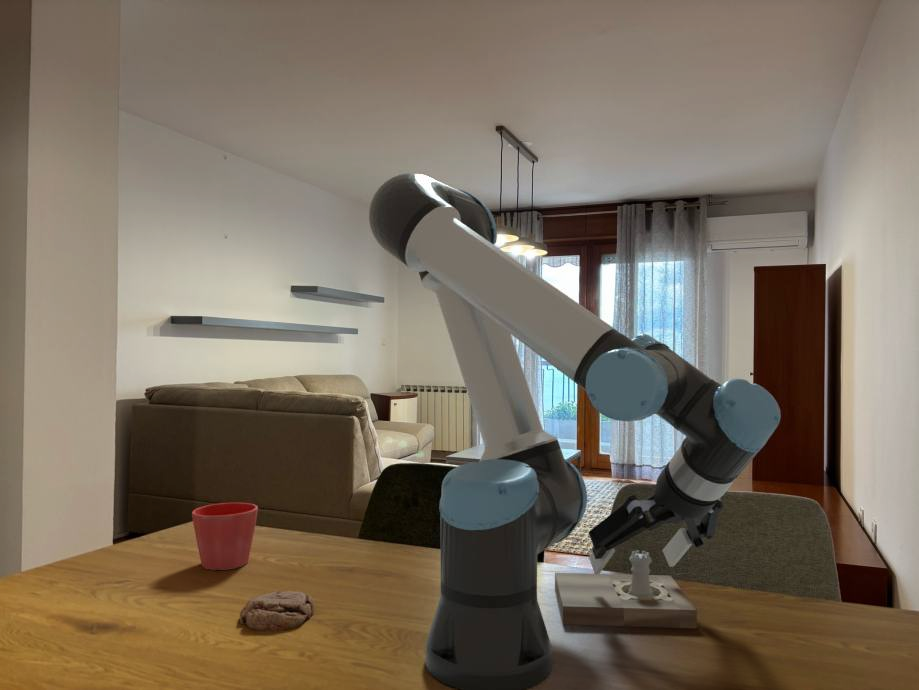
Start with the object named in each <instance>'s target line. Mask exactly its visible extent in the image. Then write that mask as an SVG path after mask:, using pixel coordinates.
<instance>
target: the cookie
mask: <svg viewBox="0 0 919 690" xmlns="http://www.w3.org/2000/svg"><path fill="white" fill-rule="evenodd" d="M314 609H315V600H314V598H313V597H312V596H311V595H310V594H308V593H305V592H301V591H295V590H286V591H282V592H281V591H280V590H275V591H273V592H269V593H266V594H262V595H256V596H252V597H250V598H249V599H248V601H247V603H246V604H245V606H243V608H242V609H241V610H240V614H239V624H240V625H242V626H244V625H245V626H247V628H249V629H251V630H254V631H260V632H261V631H279V630H280V629H281V630H289V629H293V628H297V627H300V626H301V625H302V624H303V623H304V622H305V621H306V619H307V620H311V617H313V616H314V615H315V610H314Z"/></svg>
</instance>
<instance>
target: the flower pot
mask: <svg viewBox="0 0 919 690" xmlns="http://www.w3.org/2000/svg"><path fill="white" fill-rule="evenodd" d="M258 511H259V507H258V505H256V504H254V503H249V502H221V503H220V502H219V503H214V504H208V505H204V506H200V507H197V508H195V509H194V510H193V511H192V512H191V518H192V522H193V523H192V524H193V528H194V533H195V539H196V544H197V549H198V553H199V558H200V559H199V560H200V563H201V566H202V568H204V569H205V570H209V569H210V571H217V570H219V571H226V570H233V569H237V568H239V567H240V568H241V567H243V566H245V565H246V564H247V563H248V562H249V560H250V555H251V550H252V545H253V541H254V535H255V530H256V524H257V518H258Z"/></svg>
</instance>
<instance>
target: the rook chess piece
mask: <svg viewBox="0 0 919 690" xmlns="http://www.w3.org/2000/svg"><path fill="white" fill-rule="evenodd" d="M628 560H629V561H630V563H631V565H632V567H631V568H630V571H631V575H632V582H631V587H630V589H629V592H628V593H627V594H629V595H632V596H637V597H655V596H654V594H653V591H652V590H651V587H650V580H649V575H650V573H651V569H650V565H651V563H652V562H653V559H652V558H651V557H650V552H647V551H645V550H642V551H641V553H640V550H634V551H631V555H630V557H629V558H628Z"/></svg>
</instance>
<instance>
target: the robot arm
mask: <svg viewBox="0 0 919 690" xmlns="http://www.w3.org/2000/svg"><path fill="white" fill-rule="evenodd" d="M371 199H372V200H371V201H370V206H369V209H368V210H369V212H368V220H369V221H368V222H369V228H370V231H371V233H372V234H373V237H374V239H375V240H376V242H377V243H378V244H379V245H380V247H382V249H384V250H385V251H386V252H388V253H389V254H390V255H392V257H394V258H396V259H397V260H399V262H402V263H403V264H404V265H405V266H406V267H408V268H409V269H410V270H412V271H414V272H417V273H418V275H419V277H420V280H421V285H422V286H423V287H424V288H425V289H426V290H427V289H428V290H429V291H432V292H434V293H435V295H436V298H437V301H438V304H439V306H440V311H441V314H442V316H443V319H444V322H445V325H446V328H447V329H446V330H447V333H448V335H449V338H450V341H451V344H452V348H453V351H454V354H455V358H456V361H457V363H458V366H459V367H458V368H459V370H460V373H461V376H462V379H463V382H464V385H465V388H466V391H467V395H468V399H469V400H470V401H469V402H470V405H471V407H472V411H473V414H474V417H475V420H476V423H477V426H478V430H479V433H480V436H481V438H482V442H483V446H484V451H483V453H482V455H481V457H480V459H479V461H471V462H466V463H464V464H460V465H458V466H456V467H454V468H452V469H451V470H450V471H448V472H447V474H446V475H445V476H444V478H443V480H442V482H441V494H440V495H441V497H440V498H439V504H438V505H439V508H438V509H439V513H440V519H439V520H440V593H439V595H440V597H439V600H438V604H437V607H436V610H435V614H434V615H433V619H432V622H431V626H430V627H429V632H428V634H427V636H426V637H427V638H426V642H425V666H426V670H427V671H428V672H429V674H430V675H431V676H433V678H435V679H436V680H438V681H439V682H441V683H443V684H445V685H448V686H450V687H453V688H456V689H459V690H524V689H527V688H530V687H532V686H535V685H537V684H538V683H540V682H542V681H543V680H545V679H546V678H547V676H549V674H550V672H551V670H552V668H553V667H552V661H553V657H552V655H553V654H552V653H553V652H552V650H553V649H552V643H551V640H550V637H549V633H548V631H547V627H546V623H545V620H544V618H543V615H542V612H541V608H540V604H539V602H538V601H539V600H538V555H540V554H541V553H542V552H544V551H545V550H547V549H549V548H550V547H551V546H553V545H554V544H558V543H560V542H562V541H563V540H564V539H565V540H566V538H568V537H569V536H570V535H571V534H572V532H573V531H574V530H575V529H576V528H577V526H578V525H579V524H580V523H581V522H582V519H583V518H584V515H585V513H586V510H587V504H588V491H587V486H586V484H585V483H586V482H585V481H584V478H583V476H582V474H581V472H580V471H579V470H578V468H576V466H575V465H574V464H573V463H572V462H570V461H568V460H567V459H565V457H564V455H563V452H562V447H561V445H560V443H559V439H558V438H557V436H555V435H553V434H550V433H548V432H547V431H545V430H544V429H543V426H542V424H541V420H540V417H539V414H538V411H537V408H536V405H535V402H534V400H533V397H532V393H531V390H530V387H529V385H528V381H527V378H526V374H525V372H524V370H523V366H522V364H521V361H520V358H519V355H518V352H517V348H516V346H515V343H514V340H513V337H514V338H515V339H516V340H518V341H519V342H521V344H522V345H523V344H524V345H525V346H526V347H527V348H528V349H530V350H531V351H532V352H534V353H535V354H536V355H538V356H539V357H541V358H542V359H544V361H546V362H547V363H549V364H550V365H551V366H553V367H554V368H556V370H558V371H559V372H560V373H562V374H563V375H564V376H566V377H567V378H568V379H570V380H571V381H573V382H574V383H575V384H576V385H578V386H579V387H580V388H581V389H583V390H584V391H585V392H586V394H587V397H588V399H589V402H590V403H591V405H592V406H593V407H594V409H595V410H596V411H597V412H598V413H600V415H603V416H604V417H605V418H607V419H611V420H613V421H618V422H634V421H635V422H636V421H642V420H645V419H647V418H650V417H652V416H653V415H657V416H658V417H659V418H661V419H662V420H663V421H665V422H666V423H668V424H669V425H670V426H671V427H673V428H674V429H675V430H676V431H678V432H680V433H681V434H682V435H684V436H685V438H684V439H683V441H682V443H681V444H680V446H679V447H678V448H677V450H676V451H675V453H674V455H673V456H672V457H671V459H670V460H669V461H668V462H667V464H666V465H665V466H664V468H663V469H662V471H661V472H660V474H659V475H658V477H657V479H656V483H655V489H654V493H652V494H651V495H650V496H648V497H647V498H646V500H645V499H643V500H639V499H638V496H637V495H636V494H635V495H634V494H633V495H630V496H628V497H627V499H626V500H625V502H624V503H623V504H622V505H621V506H620V507H618V508H617V509H616V510H615V511H613V512H612V513H610V515H608V516H606V517H605V519H603V520H602V521H600V522H599V523H597V525H595V526H594V527H593V528H592V529H590V531H588V535H589V538H590V540H591V543H592V548H591V551H592V552H591V553H590V555H589V556H588V560H589V561H590V565H591V566H592V569H593V572H594V573H593V574H601V573H602V570H603V569H604V568H605V567H606V565H607V564H608V562H609V561H610V560H611V558H612V557H613V555H614V553H616V549H615V548H616V547H617V546H620V545H621V544H623V543H626V541H628V540H630V539H632V538H634V537H636V536H638V535H639V534H641V533H643V532H645V531H646V530H649V531H651V532H652V531H654V530H655V529H657V528H659V527H661V526H662V525H666V524H679V523H680V522H683V523H684V526H685V527H680V528H679V529H678V531H676V533H674V535H673V536H672V537H671V539H670V540H669V542H667V544H666V545H665V547H664V548H663V549H662V553H663V555H664V557H665V560H666V562H667V564H668V566H669V568H671V567H672V568H673V567H675V566H676V564H677V563H678V562H680V560H681V559H682V558H683V556H684V555H685V554H686V552H687V551H688V550H690V549H691V548H692V547H693V545H694V546H695V548H701V547H703V546H704V542H703V540H702V538H705V540H712V539H713V538H714V536H715V533H716V528H717V523H718V520H719V519H718V518H719V514H720V513H721V511H722V510H723V509H724V507H725V504H724V503H723V501H722V500H721V498H722V497H723V496H724V495H725V494H726V492H727V491H728V489H730V487H731V485H733V483H734V482H735V481H736V479H738V477H739V475H740V474H741V473H742V472H743V470H744V469H746V467H747V466H748V465H749V464H750V462H751V461H752V460H753V459H754V458H755V457H756V455H758V453H760V451H761V450H762V448H764V446H765V445H766V444H767V442H768V440H769V439H770V438H771V436H772V435H773V434H774V432H775V431H776V430H777V428H778V426H779V424H780V421H781V417H782V415H781V409H780V406H779V404H778V401H777V400H776V399H775V397H774V396H773V395H772V394H771V393H770V392H769V391H768V390H767V389H765V388H764V387H763V386H761V385H760V384H757V383H751V382H749V381H748V380H747V379H742V378H732V379H729V380H726V381H724V383H722V384H721V383H719V382H717V381H715V380H714V379H712V378H711V377H709V376H708V375H707V374H705V373H704V372H703V371H701V370H699V369H698V368H697V367H695V366H694V365H692V364H691V363H690V362H688V361H687V360H686V359H684V358H683V357H682V356H681V355H679V354H677V353H676V352H675V351H673V350H672V349H671V348H670V347H669V346H668V345H667V344H666V343H662V342H660V341H658V340H657V339H656V338H654V337H653V336H651V335H649V334H646V333H640V334H637V335H636V336H635V337H634V338H633V337H632V338H629V337H628V336H626V335H625V334H623V333H621V332H620V331H618V330H617V329H616V328H614V327H613V326H611V325H610V324H609V323H607V322H606V321H604V320H603V319H602V318H600V317H598V316H597V315H596V314H594V313H593V312H592V311H590V310H589V309H587V308H585V307H584V306H583V305H582V304H580V303H579V302H577V301H575V299H572V298H571V297H569V296H568V295H567V294H566V293H564V292H563V291H561V290H560V289H559V288H557V287H555V286H554V285H552V284H550V283H549V281H547V280H545V279H544V278H543V277H541V276H539V275H538V274H536V273H535V272H533V271H532V270H531V269H530V268H529V267H526V266H525V265H524V264H522V263H520V261H518V260H516V259H515V258H513V257H512V256H510V255H509V254H507V253H506V252H505V251H503V250H502V249H500V248H499V247H497V246H496V245H495V244H496V243H497V239H498V236H497V235H498V229H497V225H496V220H495V218H494V215H493V214H492V212H491V210H490V209H489V208H488V206H487V205H486V204H485V203H483V202H482V201H481V199H479V198H477V197H476V196H475V195H474V194H471V193H469V192H467V191H465V190H462V189H459V188H458V189H457V188H454V187H452V186H449V185H447V184H446V183H443V182H441V181H438V180H436V179H434V178H432V177H429V176H427V175H425V174H420V173H409V172H408V173H403V174H402V173H401V174H399V175H396V176H395V175H394V176H393V177H391V178H389V179H388V180H385V182H384V183H383V184H381V186H380V187H378V189H377V190H376V192H375V193H374V195H373V197H372V198H371ZM647 511H648V512H649V514H650V516H649V515H648V512H647ZM650 517H651V518H652V521H651V519H650ZM694 519H699V520H698V525H697V524H696V522H695V520H694Z"/></svg>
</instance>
